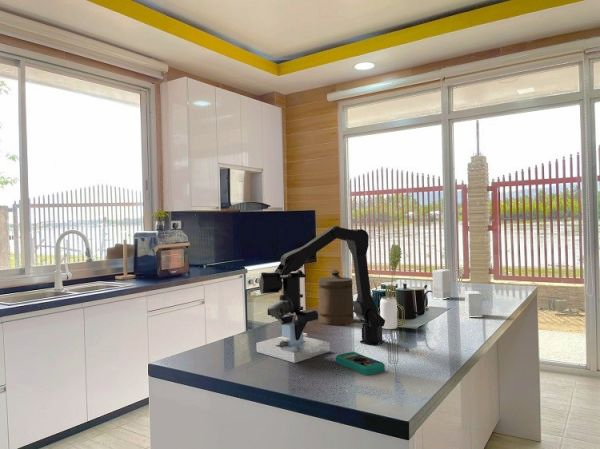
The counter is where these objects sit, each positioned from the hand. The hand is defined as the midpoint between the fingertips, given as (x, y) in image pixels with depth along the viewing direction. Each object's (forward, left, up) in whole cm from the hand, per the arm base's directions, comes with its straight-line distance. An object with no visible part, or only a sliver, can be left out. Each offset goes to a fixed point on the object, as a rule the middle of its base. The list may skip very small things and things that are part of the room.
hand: (292, 339), depth 147 cm
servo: (0, 0, -2) cm, 2 cm away
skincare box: (+11, -122, -4) cm, 122 cm away
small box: (-21, -89, -4) cm, 91 cm away
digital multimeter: (-26, -2, -5) cm, 26 cm away
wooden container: (+19, -44, -4) cm, 48 cm away
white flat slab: (0, 0, -4) cm, 4 cm away
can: (-5, -48, -4) cm, 48 cm away
